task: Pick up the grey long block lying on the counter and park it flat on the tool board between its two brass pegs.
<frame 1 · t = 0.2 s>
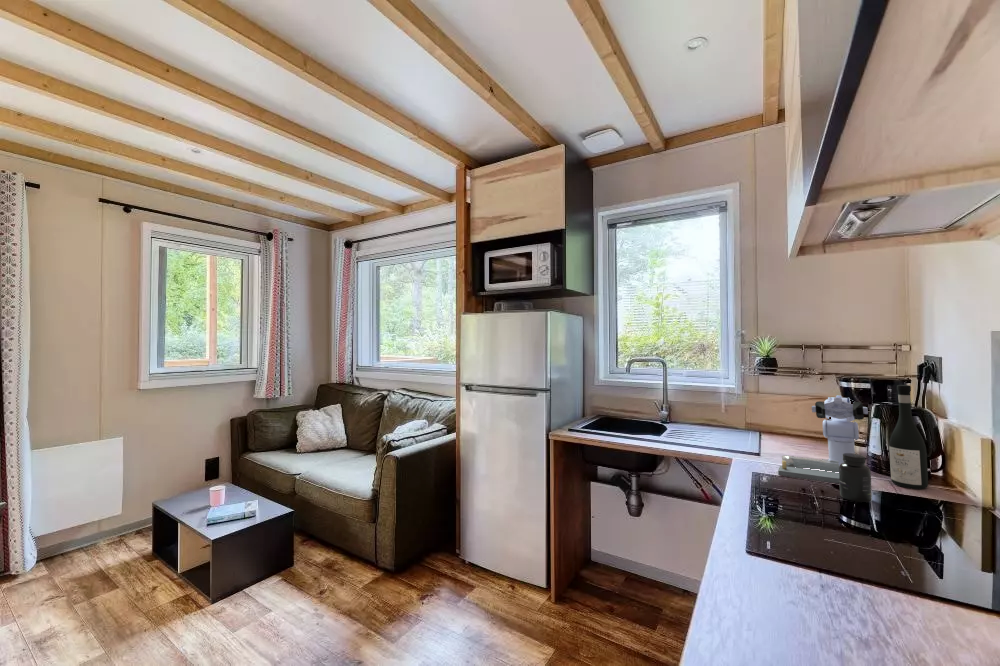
hand: (838, 412, 134), 21 cm above the cooktop, tool horizontal, fingers open, 7 cm apart
tool board: (820, 478, 136), on the cooktop
supplement bottle: (855, 499, 117), on the cooktop
grey long block: (807, 469, 145), on the cooktop
wine bottle: (909, 486, 127), on the cooktop
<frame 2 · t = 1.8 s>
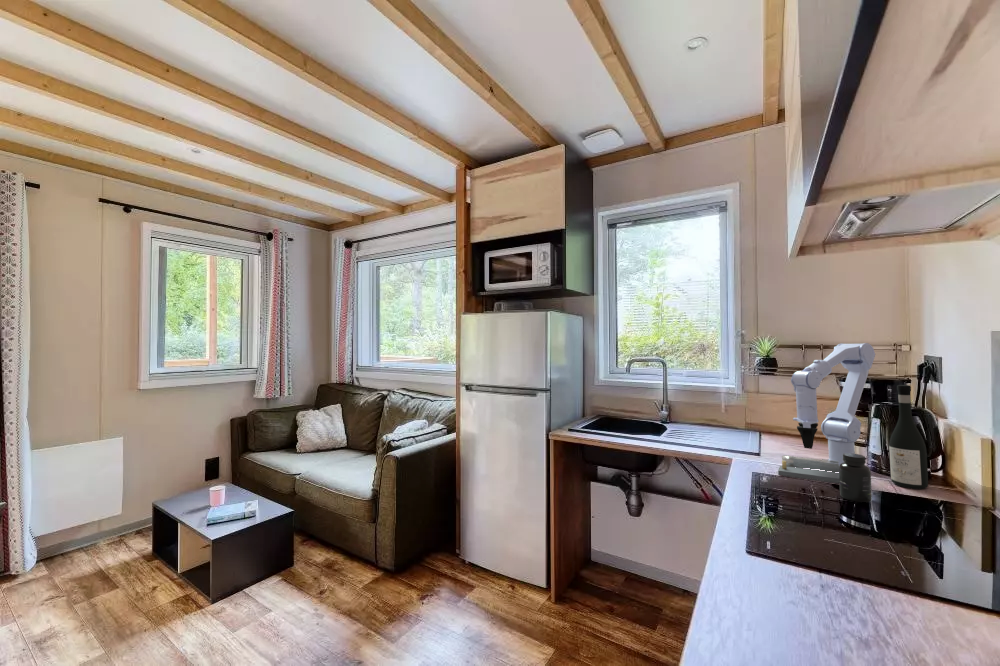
hand: (808, 446, 145), 8 cm above the cooktop, tool pointing down, fingers open, 7 cm apart
nothing on the cooktop moved.
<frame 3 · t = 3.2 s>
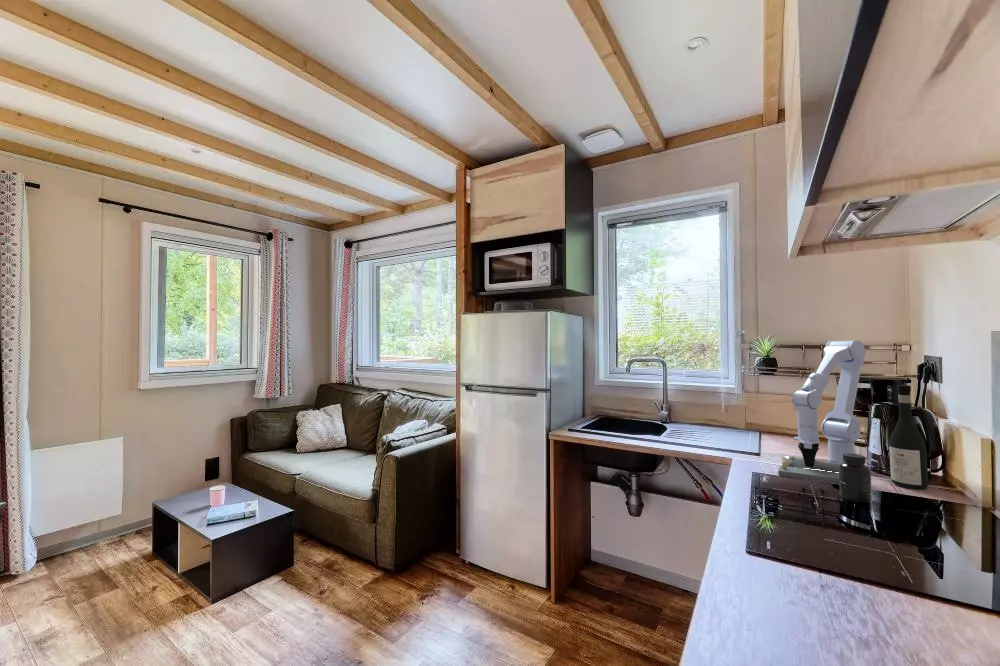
hand: (809, 465, 145), 1 cm above the cooktop, tool pointing down, fingers closed on grey long block, 3 cm apart
grey long block: (807, 469, 145), on the cooktop, touching gripper
everything else where it was.
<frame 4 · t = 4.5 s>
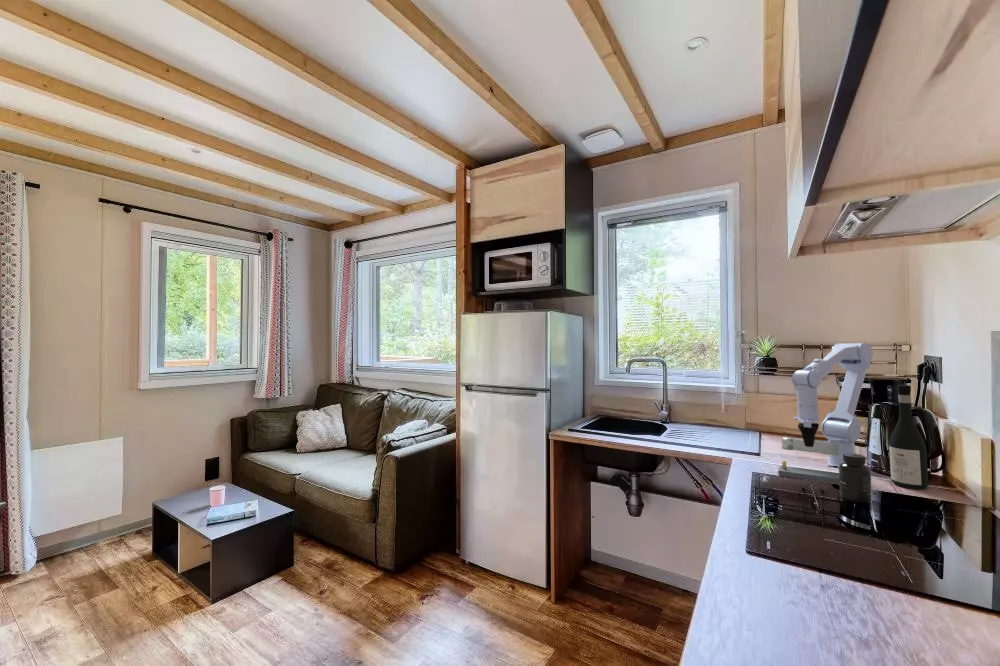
hand: (809, 445, 144), 8 cm above the cooktop, tool pointing down, fingers closed on grey long block, 3 cm apart
grey long block: (807, 450, 144), point 7 cm above the cooktop, touching gripper
everything else where it was.
when the fingers open (4 cm above the cooktop, at t = 6.2 s): grey long block stays where it is, resting on tool board.
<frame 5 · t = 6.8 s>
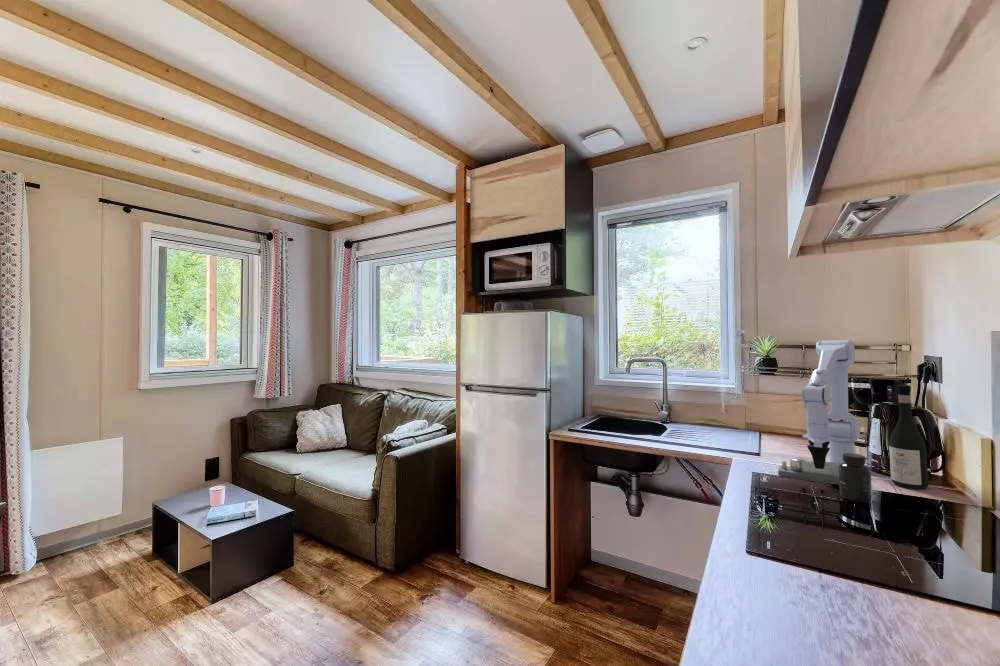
hand: (819, 465, 136), 4 cm above the cooktop, tool pointing down, fingers open, 7 cm apart
grey long block: (817, 473, 136), point 1 cm above the cooktop, touching tool board
everything else where it was.
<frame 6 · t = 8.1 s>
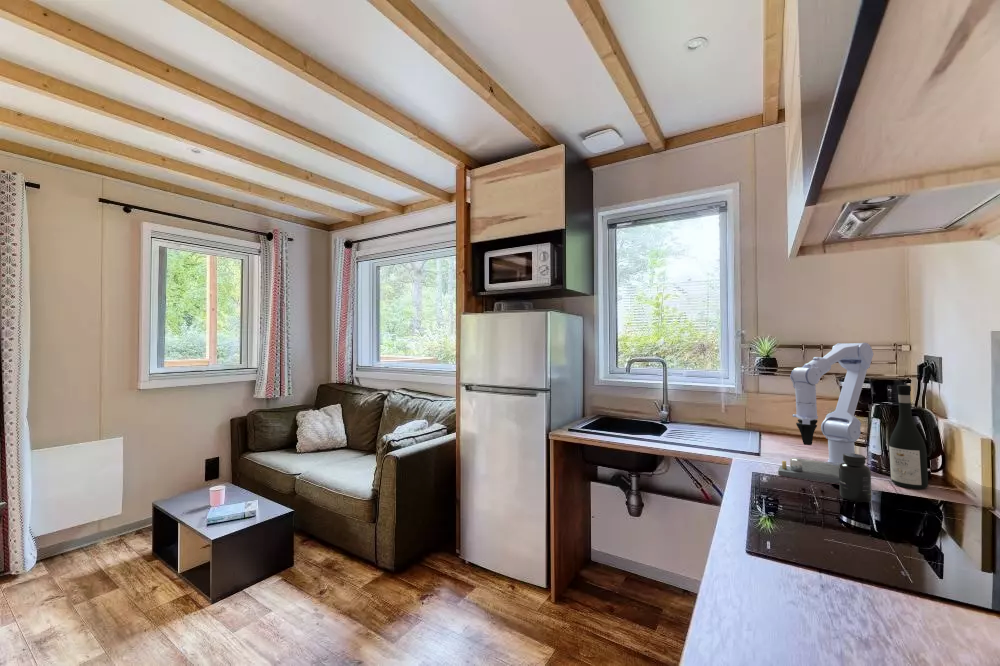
hand: (808, 442, 144), 9 cm above the cooktop, tool pointing down, fingers open, 7 cm apart
nothing on the cooktop moved.
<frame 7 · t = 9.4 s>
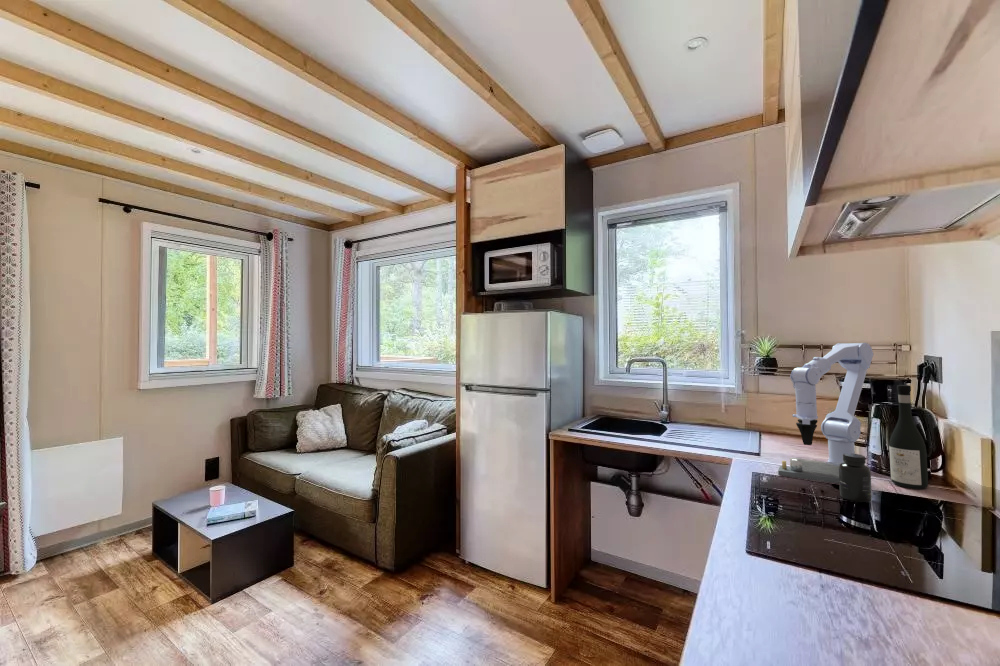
hand: (808, 442, 144), 9 cm above the cooktop, tool pointing down, fingers open, 7 cm apart
nothing on the cooktop moved.
at the end: grey long block 0.0 cm off-centre on the tool board, point 1.5 cm above the tool board's base; grey long block tilted 0°; the gripper is holding nothing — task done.
